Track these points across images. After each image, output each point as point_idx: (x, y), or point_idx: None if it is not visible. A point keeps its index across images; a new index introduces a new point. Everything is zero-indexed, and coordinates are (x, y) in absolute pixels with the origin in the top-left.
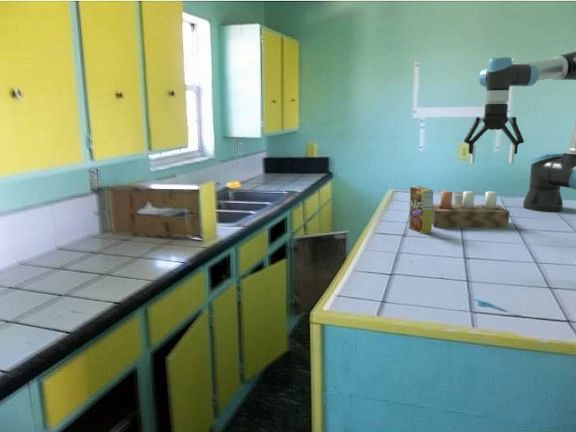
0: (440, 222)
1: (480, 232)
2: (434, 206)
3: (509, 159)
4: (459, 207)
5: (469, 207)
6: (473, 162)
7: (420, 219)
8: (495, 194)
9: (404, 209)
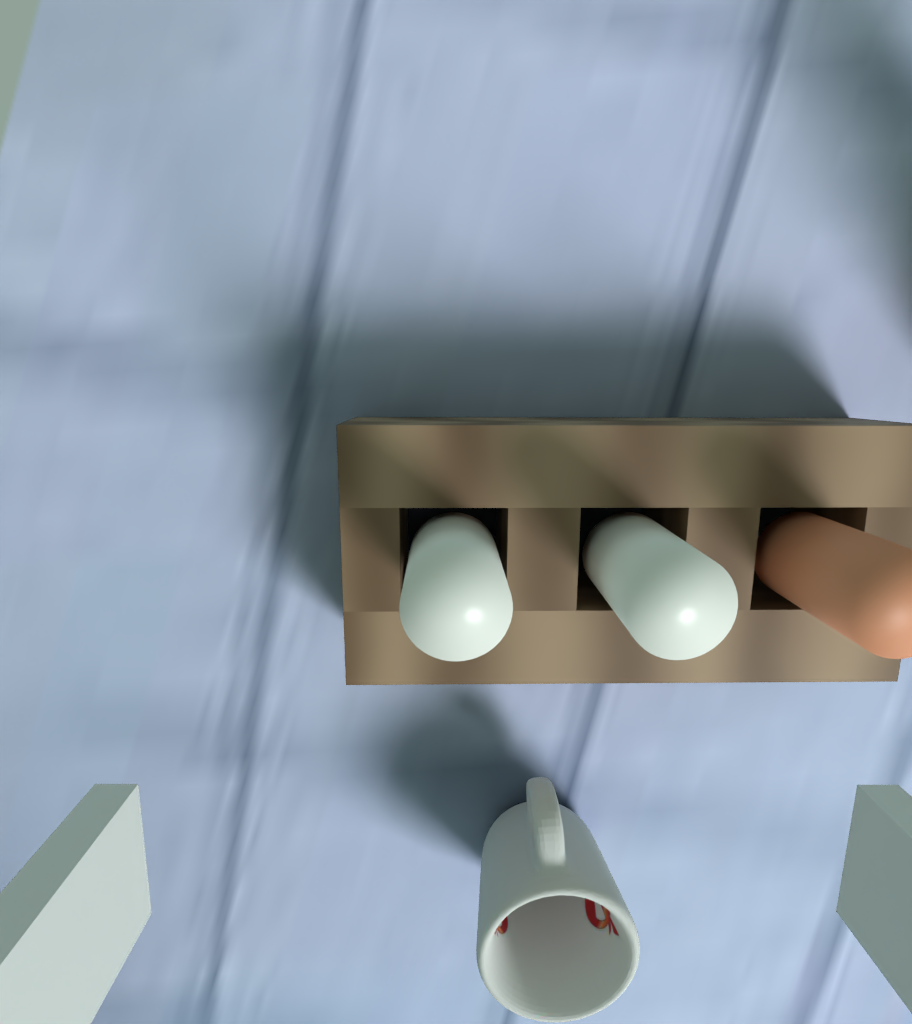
0: (830, 419)
1: (579, 283)
2: None
3: (117, 952)
4: None
5: (637, 519)
6: (885, 791)
7: None
8: (428, 557)
9: None
